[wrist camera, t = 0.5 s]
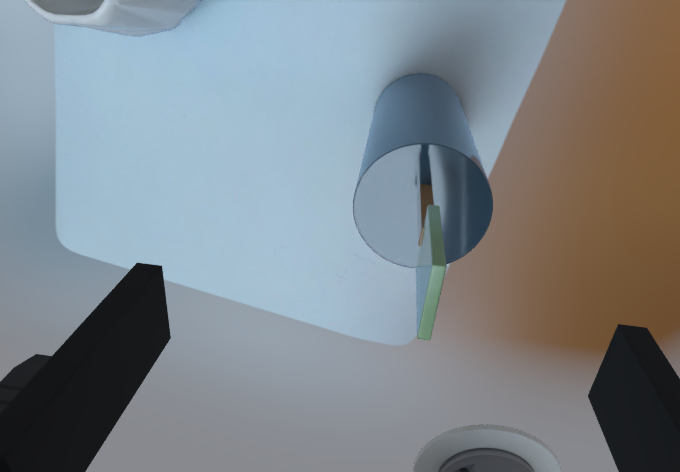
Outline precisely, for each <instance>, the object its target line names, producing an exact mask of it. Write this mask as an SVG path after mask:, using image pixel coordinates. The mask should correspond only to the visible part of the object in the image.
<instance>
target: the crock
mask: <svg viewBox="0 0 680 472" xmlns="http://www.w3.org/2000/svg"><path fill="white" fill-rule="evenodd" d="M492 211H493V198H492V192H491V188H490V185H489V182H488V179H487V176H486V173H485V171H484V168H483V165H482V162H481V159H480V156H479V154H478V151H477V148H476V145H475V142H474V139H473V136H472V134H471V131H470V128H469V125H468V122H467V119H466V116H465V114H464V111H463V108H462V105H461V102H460V100H459V97H458V95H457V94H456V92H455V91H454V89H453V88H452V87H451V86H450V85H449V84H448V83H447V82H445V81H444V80H442V79H440V78H438V77H436V76H433V75H430V74H421V73H418V74H411V75H406V76H404V77H401V78H399V79H397V80H396V81H394V82H393V83H391V84H390V85H389V86H388V87H387V88H386V89H385V90H384V91H383V93H382V94H381V96H380V97H379V99H378V102H377V104H376V107H375V111H374V115H373V120H372V124H371V128H370V132H369V136H368V140H367V144H366V148H365V152H364V157H363V161H362V165H361V169H360V173H359V177H358V181H357V185H356V190H355V194H354V200H353V214H354V219H355V223H356V226H357V229H358V231H359V233H360V235H361V237H362V238H363V240H364V241H365V242H366V244H367V245H368V246H369V247H370V248H371V249H372V250H373V251H374V252H376V253H377V254H378V255H379V256H381V257H383V258H384V259H386V260H388V261H390V262H392V263H395V264H398V265H401V266H405V267H410V268H416V296H417V338H418V339H424V340H430V339H431V334H432V329H433V325H434V321H435V316H436V311H437V307H438V303H439V298H440V294H441V289H442V284H443V280H444V276H445V271H446V264H449V263H451V262H454V261H456V260H458V259H459V258H461V257H463V256H464V255H466V254H467V253H468V252H470V251H471V250H472V249H473V248H474V247H475V246H476V245H477V244H478V243H479V242H480V240H481V239H482V237H483V236H484V235H485V232H486V231H487V228H488V226H489V224H490V221H491V217H492Z"/></svg>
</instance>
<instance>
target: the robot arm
mask: <svg viewBox="0 0 680 472" xmlns="http://www.w3.org/2000/svg"><path fill="white" fill-rule="evenodd" d="M170 338H171V337H170V329H169V321H168V313H167V305H166V296H165V287H164V279H163V271H162V266H158V265H150V264H142V263H137V264H136V265H135V266H134V267H133V268H132V269H131V270H130V271H129V272H128V274H127V275H126V276H125V277H124V278H123V279H122V280H121V281H120V282H119V283H118V284H117V286H116V287H115V288H114V289H113V290H112V291H111V292H110V293H109V294H108V295H107V297H106V298H105V299H104V300H103V301H102V302H101V303H100V304H99V305H98V306H97V307H96V309H95V310H94V311H93V312H92V313H91V314H90V315H89V316H88V317H87V318H86V319H85V321H84V322H83V323H82V324H81V325H80V326H79V327H78V328H77V330H75V332H74V333H73V334H72V335H71V336H70V337H69V338H68V339H67V340H66V342H65V343H64V344H63V345H62V346H61V347H60V348H59V349H58V350H57V351H56V352H55V354H54V355H53V356H46V355H39V354H36V355H34V356H33V357H31V358H29V359H27V360H26V361H24V362H23V363H21V364H19V365H18V366H16V367H14V368H13V369H12V370H11V372H10V373H8V374H7V376H6V377H5V378H4V379H3V380H2V381H1V382H0V472H85V471H86V470H87V468H88V466H89V465H90V463H91V462H92V460H93V459H94V457H95V456H96V454H97V452H98V451H99V449H100V448H101V446H102V444H103V443H104V441H105V440H106V438H107V437H108V435H109V434H110V432H111V431H112V429H113V427H114V426H115V424H116V423H117V421H118V419H119V418H120V416H121V414H122V413H123V412H124V410H125V409H126V407H127V405H128V404H129V402H130V401H131V399H132V398H133V396H134V395H135V393H136V391H137V390H138V388H139V387H140V385H141V384H142V382H143V380H144V379H145V377H146V376H147V374H148V373H149V371H150V369H151V368H152V366H153V365H154V363H155V362H156V360H157V359H158V357H159V355H160V354H161V352H162V351H163V349H164V348H165V346H166V344H167V343H168V341H169V340H170ZM588 397H589V400H590V402H591V405H592V407H593V410H594V412H595V415H596V417H597V420H598V422H599V424H600V427H601V429H602V432H603V434H604V437H605V439H606V442H607V444H608V446H609V449H610V451H611V454H612V456H613V459H614V461H615V464H616V466H617V469H618V471H619V472H680V379H679V377H678V376H677V374H676V372H675V371H674V369H673V368H672V366H671V365H670V363H669V362H668V360H667V359H666V357H665V355H664V354H663V352H662V351H661V350H660V348H659V346H658V345H657V343H656V342H655V340H654V338H653V337H652V335H651V334H650V332H649V331H648V329H647V328H643V327H635V326H628V325H620V324H618V326H617V329H616V331H615V333H614V335H613V338H612V340H611V343H610V345H609V347H608V350H607V352H606V354H605V357H604V359H603V361H602V364H601V366H600V368H599V371H598V373H597V376H596V378H595V380H594V383H593V385H592V387H591V390H590V392H589V395H588ZM439 472H534V470H533V468H532V467H531V465H530V464H529V463H528V462H527V461H526V460H524V459H523V458H521V457H520V456H518V455H516V454H514V453H512V452H509V451H505V450H501V449H496V448H475V449H469V450H465V451H462V452H459V453H457V454H455V455H453V456H452V457H450V458H449V459H447V460H446V461H445V462H444V463H443V465H442V466H441V467H440V469H439Z"/></svg>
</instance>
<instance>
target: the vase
mask: <svg viewBox="0 0 680 472" xmlns="http://www.w3.org/2000/svg"><path fill="white" fill-rule="evenodd" d="M24 1H25V2H26V3H27V4H28V5H29V6H30V7H31V8H32V9H33V10H34V11H36V12H37V13H38V14H39V15H40V16H41V17H43V18H44V19H46V20H47V21H49V22H51V23H54V24H58V25H65V26H77V27H87V28H91V29H96V30H101V31H105V32H110V33H116V34H121V35H126V36H133V37H141V36H146V35H150V34H155V33H159V32H163V31H168V30H171V29H173V28H176V27H178V26H179V25H180V23H181V22H182V20H183V19H184V18H185V17H186V16H187V15H188V14H189V13H190V12H191V11H192V10H193V9H194V8H195V7H196V6H197V5H198V4H199V3H200V1H201V0H24Z"/></svg>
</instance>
